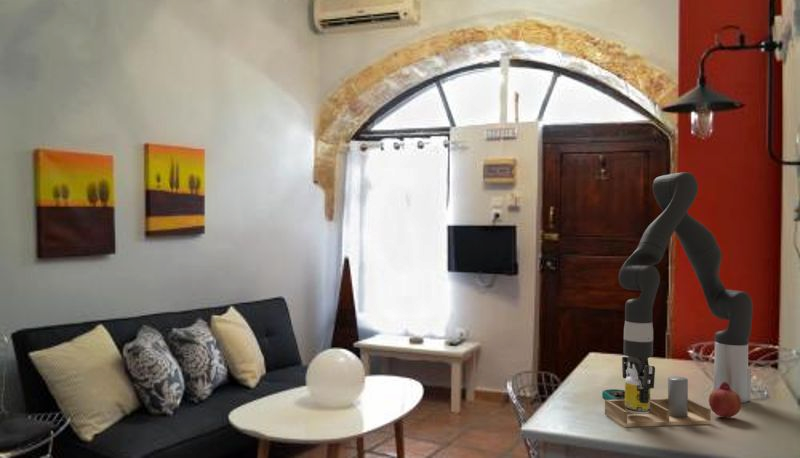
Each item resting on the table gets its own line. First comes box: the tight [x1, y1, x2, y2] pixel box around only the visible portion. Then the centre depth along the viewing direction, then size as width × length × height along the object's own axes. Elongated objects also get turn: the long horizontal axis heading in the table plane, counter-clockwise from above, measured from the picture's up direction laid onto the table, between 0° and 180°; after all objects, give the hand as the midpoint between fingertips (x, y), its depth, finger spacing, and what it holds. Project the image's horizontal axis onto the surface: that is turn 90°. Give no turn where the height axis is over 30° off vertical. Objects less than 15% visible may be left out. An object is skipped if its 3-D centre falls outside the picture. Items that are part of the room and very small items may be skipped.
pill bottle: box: [624, 368, 651, 414], centre depth 183 cm, size 6×6×12 cm
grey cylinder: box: [667, 376, 689, 418], centre depth 185 cm, size 5×5×10 cm
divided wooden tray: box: [604, 397, 712, 428], centre depth 185 cm, size 24×12×4 cm, turn 98°
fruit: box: [708, 382, 742, 419], centre depth 187 cm, size 8×8×10 cm
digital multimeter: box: [601, 388, 625, 400], centre depth 201 cm, size 7×15×3 cm, turn 2°
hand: (637, 399), depth 184 cm, fingers closed on pill bottle, 6 cm apart
